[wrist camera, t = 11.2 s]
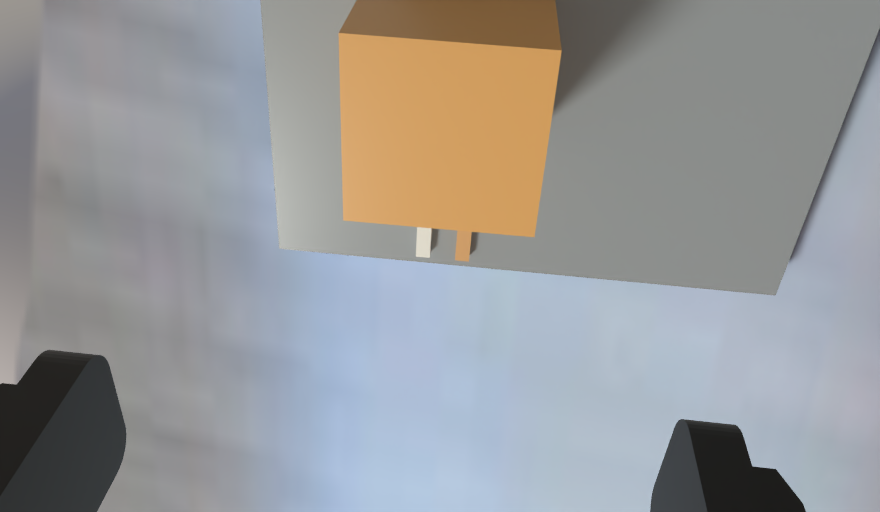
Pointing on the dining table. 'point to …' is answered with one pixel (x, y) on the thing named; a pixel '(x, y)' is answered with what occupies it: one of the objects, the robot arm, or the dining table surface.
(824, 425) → the dining table surface
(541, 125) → the tan wooden cube
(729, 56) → the board
